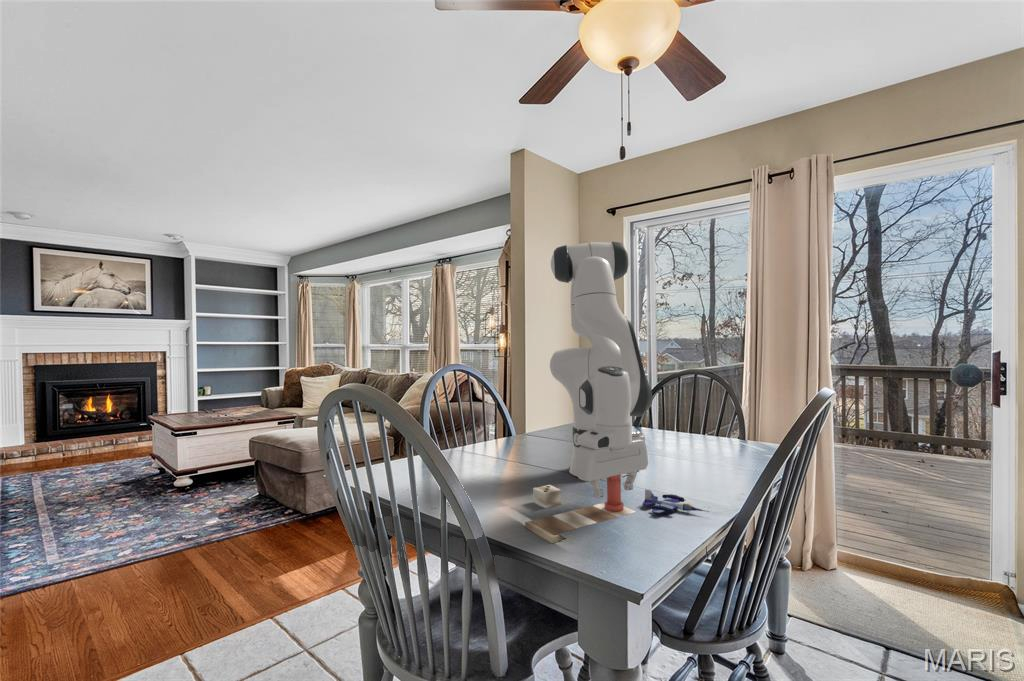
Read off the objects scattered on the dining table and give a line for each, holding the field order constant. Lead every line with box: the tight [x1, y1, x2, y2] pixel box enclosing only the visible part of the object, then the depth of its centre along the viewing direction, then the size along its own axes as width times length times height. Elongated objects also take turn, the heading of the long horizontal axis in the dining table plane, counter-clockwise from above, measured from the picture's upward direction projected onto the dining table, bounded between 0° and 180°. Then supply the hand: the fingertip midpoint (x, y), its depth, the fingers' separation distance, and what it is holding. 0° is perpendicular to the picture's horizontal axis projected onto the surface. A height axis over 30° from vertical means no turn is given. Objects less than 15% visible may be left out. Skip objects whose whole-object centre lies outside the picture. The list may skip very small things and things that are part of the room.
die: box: [532, 484, 562, 509], centre depth 120 cm, size 5×5×5 cm
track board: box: [524, 502, 637, 544], centre depth 111 cm, size 26×10×1 cm, turn 121°
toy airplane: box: [641, 489, 715, 515], centre depth 114 cm, size 13×14×4 cm
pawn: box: [604, 474, 625, 512], centre depth 115 cm, size 4×4×10 cm
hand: (613, 493), depth 115 cm, fingers open, 8 cm apart
